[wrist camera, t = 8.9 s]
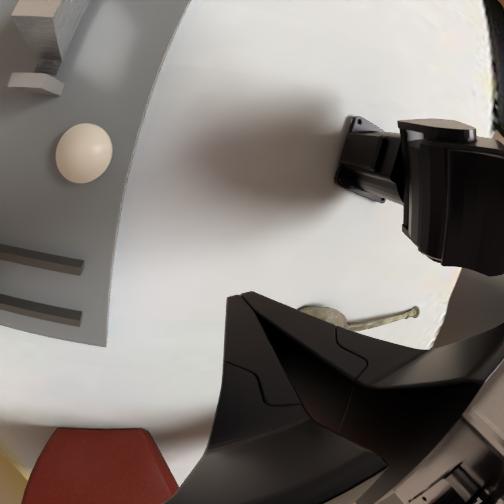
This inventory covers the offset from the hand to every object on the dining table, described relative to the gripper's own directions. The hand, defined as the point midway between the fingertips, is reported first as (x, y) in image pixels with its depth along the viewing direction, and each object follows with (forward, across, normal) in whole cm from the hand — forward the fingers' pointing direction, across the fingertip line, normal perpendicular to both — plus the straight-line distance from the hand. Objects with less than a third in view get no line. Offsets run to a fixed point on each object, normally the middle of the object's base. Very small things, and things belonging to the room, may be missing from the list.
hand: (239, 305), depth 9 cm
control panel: (+13, +10, -7) cm, 18 cm away
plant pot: (+14, +17, +30) cm, 37 cm away
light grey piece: (+10, +6, -15) cm, 19 cm away
